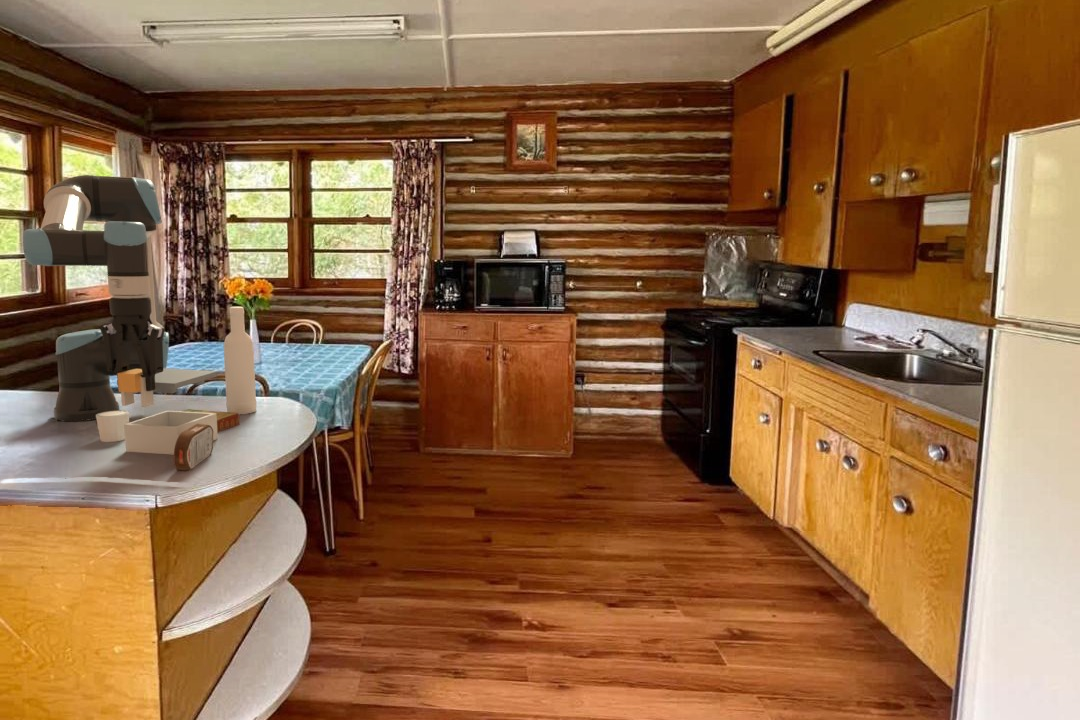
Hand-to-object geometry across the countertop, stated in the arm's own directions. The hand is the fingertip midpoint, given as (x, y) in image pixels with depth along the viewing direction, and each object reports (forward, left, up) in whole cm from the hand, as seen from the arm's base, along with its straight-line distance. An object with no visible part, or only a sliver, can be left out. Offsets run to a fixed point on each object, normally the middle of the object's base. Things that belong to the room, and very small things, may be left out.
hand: (138, 404), depth 148 cm
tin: (+14, -1, -13) cm, 19 cm away
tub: (0, +10, -12) cm, 16 cm away
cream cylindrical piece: (-17, +12, -13) cm, 24 cm away
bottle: (-6, +47, -13) cm, 49 cm away
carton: (-5, +28, -13) cm, 31 cm away
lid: (0, +7, +2) cm, 8 cm away
